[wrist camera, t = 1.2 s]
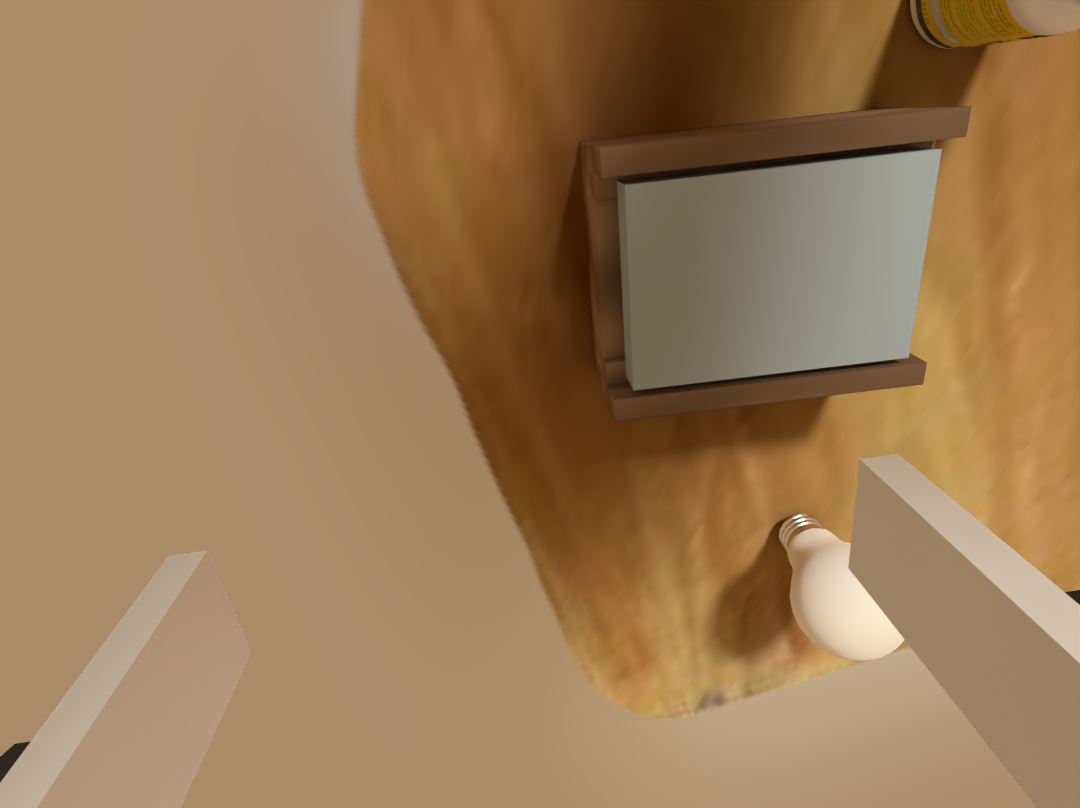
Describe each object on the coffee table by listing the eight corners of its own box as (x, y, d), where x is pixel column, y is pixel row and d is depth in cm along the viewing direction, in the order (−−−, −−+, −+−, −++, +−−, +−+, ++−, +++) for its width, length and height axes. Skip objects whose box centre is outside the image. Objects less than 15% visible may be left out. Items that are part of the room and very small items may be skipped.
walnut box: (579, 141, 33) (599, 148, 26) (879, 107, 33) (971, 106, 27) (595, 370, 38) (615, 421, 32) (852, 340, 39) (923, 384, 32)
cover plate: (616, 180, 29) (624, 185, 27) (914, 147, 29) (941, 149, 27) (625, 375, 33) (633, 390, 31) (885, 344, 33) (908, 357, 32)
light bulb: (792, 467, 42) (884, 576, 32) (859, 511, 44) (966, 626, 34) (728, 536, 44) (795, 659, 34) (794, 575, 46) (877, 701, 36)
